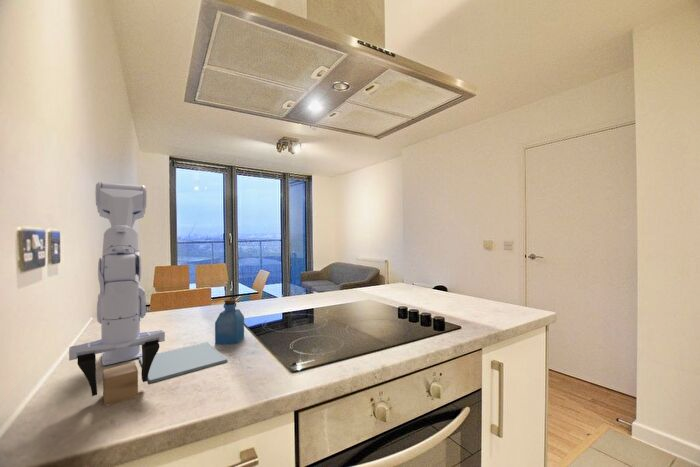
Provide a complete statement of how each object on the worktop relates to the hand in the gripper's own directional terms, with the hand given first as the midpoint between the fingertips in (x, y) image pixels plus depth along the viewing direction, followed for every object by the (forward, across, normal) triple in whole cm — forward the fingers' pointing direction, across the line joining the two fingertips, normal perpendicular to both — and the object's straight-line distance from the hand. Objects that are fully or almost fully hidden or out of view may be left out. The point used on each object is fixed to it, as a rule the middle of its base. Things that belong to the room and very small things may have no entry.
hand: (120, 386), depth 58 cm
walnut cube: (+2, 0, 0) cm, 2 cm away
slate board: (+2, +13, +10) cm, 17 cm away
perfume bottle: (+2, +27, +17) cm, 32 cm away
